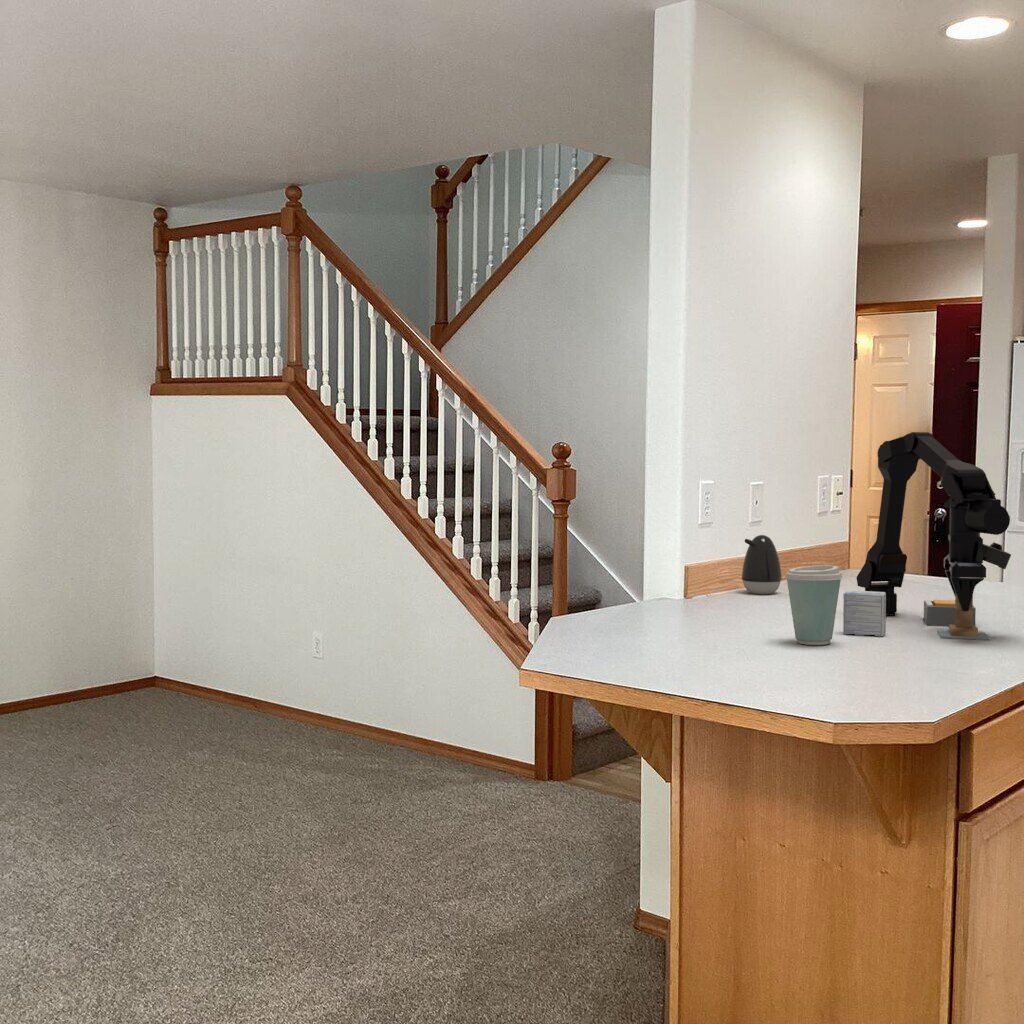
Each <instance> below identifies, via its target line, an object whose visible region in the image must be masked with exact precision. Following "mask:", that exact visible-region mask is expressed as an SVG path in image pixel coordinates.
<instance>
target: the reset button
mask: <svg viewBox="0 0 1024 1024" xmlns="http://www.w3.org/2000/svg"><path fill="white" fill-rule="evenodd" d="M932 601H933V605H934V606H952V607H955V599H953V600H952V599H933V600H932Z"/></svg>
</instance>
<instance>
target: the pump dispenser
mask: <svg viewBox="0 0 1024 1024" xmlns="http://www.w3.org/2000/svg"><path fill="white" fill-rule="evenodd" d="M744 543H745V544H747V545H748V548H747V550H746V552H745V556H744V558H743V559H744V560H743V564H742V571H741V580H742V582H743V583H742V584H743V586H744V588H745V589H746V591H747V592H749V593H750V594H753V595H758V596H759V595H761V596H762V595H763V596H764V595H772V594H773V593H775V592H777V590H778V589H779V587H780V586H781V585H780V584H781V581H782V579H783V574H782V573H783V572H782V566H781V562H780V561H781V560H780V557H779V554H778V551H777V548H776V545H775V543H774V541H773V540H772V539H771V538H770V537H769V536H767V535H764V534H760V535H757V536H755V537H754V538H753V539H749V538H745V539H744Z"/></svg>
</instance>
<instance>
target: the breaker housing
mask: <svg viewBox="0 0 1024 1024" xmlns="http://www.w3.org/2000/svg"><path fill="white" fill-rule="evenodd" d="M976 610H977V609H976V607H975V606H974V605H973V614H972V625H976V613H977V611H976ZM923 620H924V622H925V625H926V626H935V627H936V626H937V627H949V625H955V607H952V606H934V605H933V600H923Z"/></svg>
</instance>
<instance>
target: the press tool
mask: <svg viewBox="0 0 1024 1024" xmlns="http://www.w3.org/2000/svg"><path fill="white" fill-rule="evenodd" d="M954 597H955V598H954V600H955V625H949V626H948V631H949V633H950V635H951V636H970V637H978V632H979V629H978V627H977V625H976V624H975V625H972V614H973V606H974V604H973V603H974V601H973V600H974V599H973V598H974V594H973V595H972V599H971V603H970V607H969V611H962V608H961V606H960V603H959V600H958V597H957V595H956V592H955V595H954Z"/></svg>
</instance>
